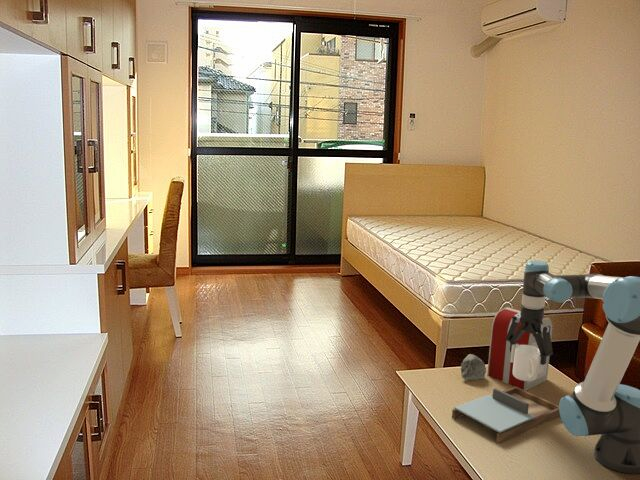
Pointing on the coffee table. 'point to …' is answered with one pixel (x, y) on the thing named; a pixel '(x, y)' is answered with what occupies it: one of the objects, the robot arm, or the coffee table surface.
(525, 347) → the mug
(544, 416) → the brown wooden frame
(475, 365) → the stone
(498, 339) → the red striped arch block
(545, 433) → the coffee table surface
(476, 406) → the lid
